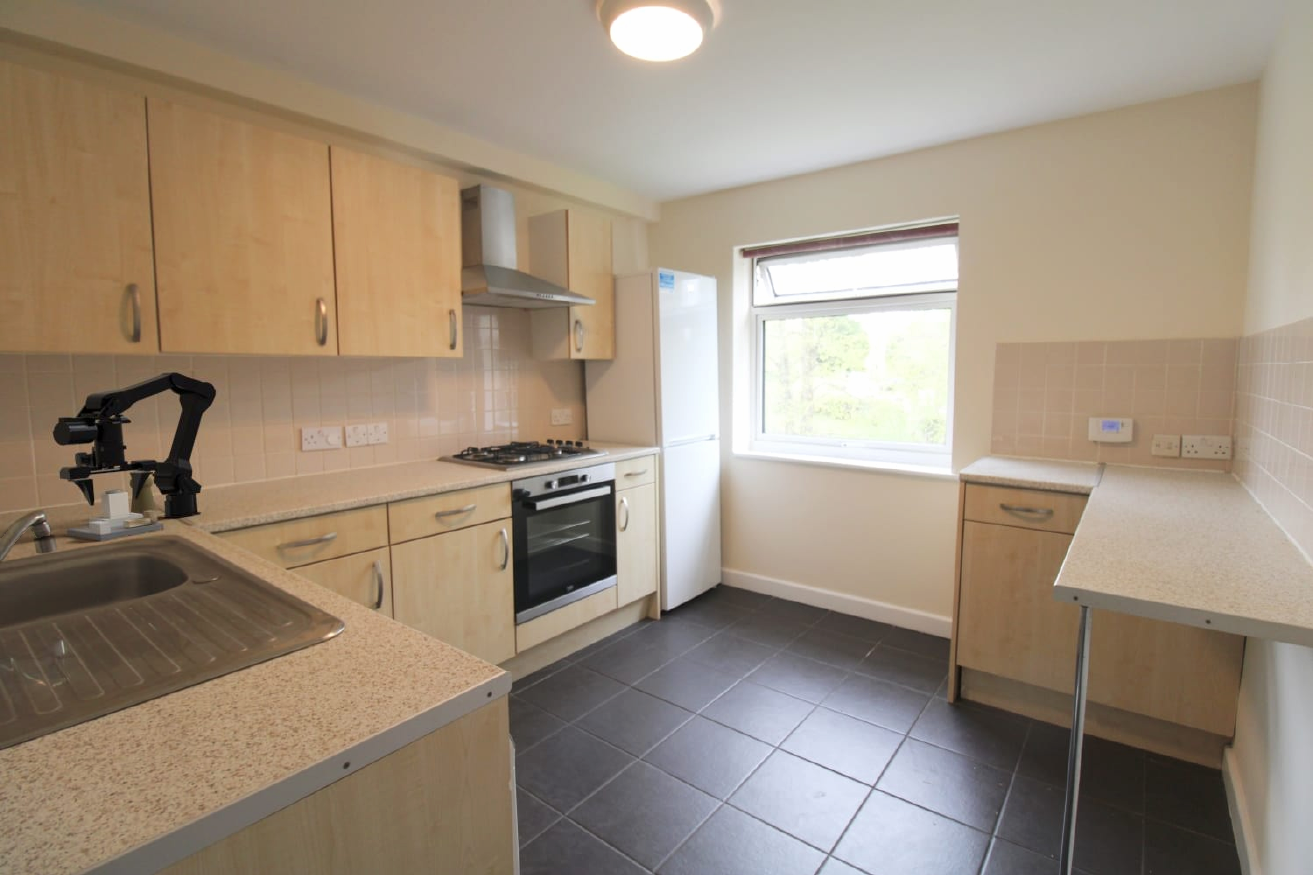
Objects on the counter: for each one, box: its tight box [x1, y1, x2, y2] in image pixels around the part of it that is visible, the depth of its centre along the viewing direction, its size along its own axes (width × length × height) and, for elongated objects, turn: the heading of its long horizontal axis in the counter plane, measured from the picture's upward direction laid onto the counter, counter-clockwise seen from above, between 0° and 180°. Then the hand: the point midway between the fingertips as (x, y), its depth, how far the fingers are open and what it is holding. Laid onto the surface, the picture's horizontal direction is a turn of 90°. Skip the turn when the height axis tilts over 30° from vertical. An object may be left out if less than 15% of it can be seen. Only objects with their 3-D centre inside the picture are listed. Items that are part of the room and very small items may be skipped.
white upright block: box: [100, 489, 130, 519], centre depth 162 cm, size 4×4×9 cm
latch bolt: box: [123, 510, 159, 527], centre depth 159 cm, size 6×3×3 cm, turn 154°
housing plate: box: [65, 511, 165, 542], centre depth 159 cm, size 13×17×4 cm
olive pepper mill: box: [129, 476, 158, 515], centre depth 182 cm, size 6×6×11 cm
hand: (114, 502), depth 162 cm, fingers open, 9 cm apart
